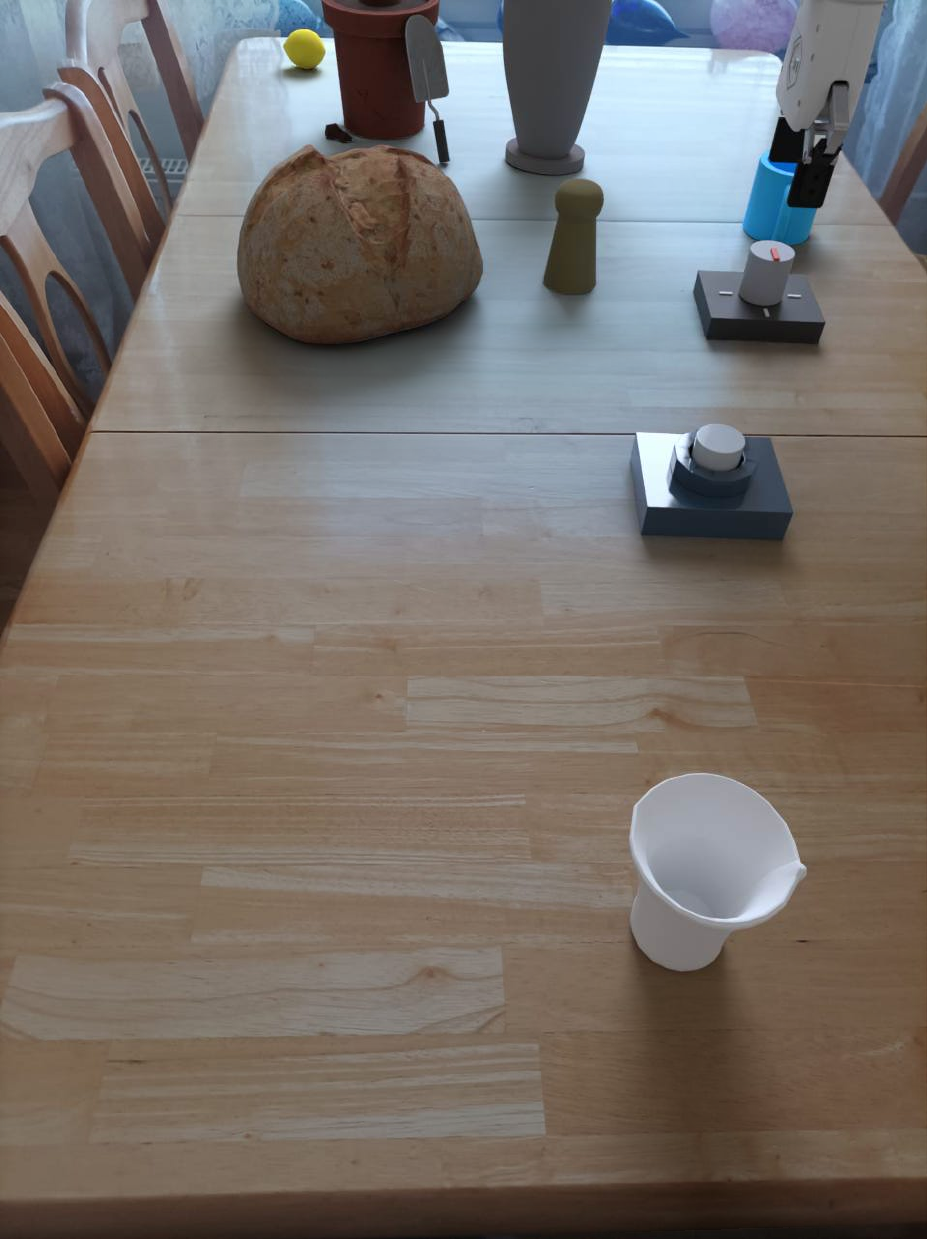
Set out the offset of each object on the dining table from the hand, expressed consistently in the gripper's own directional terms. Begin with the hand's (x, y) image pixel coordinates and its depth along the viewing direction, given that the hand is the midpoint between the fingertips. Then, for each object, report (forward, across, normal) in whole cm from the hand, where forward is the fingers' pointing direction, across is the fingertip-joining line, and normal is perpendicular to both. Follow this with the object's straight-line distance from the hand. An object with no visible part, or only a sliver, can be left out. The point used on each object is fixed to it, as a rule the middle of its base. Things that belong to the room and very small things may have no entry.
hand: (793, 183), depth 88 cm
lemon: (+16, -72, -60) cm, 95 cm away
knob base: (+16, -4, +1) cm, 16 cm away
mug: (+16, -23, +6) cm, 29 cm away
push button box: (+16, +28, -8) cm, 33 cm away
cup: (+16, +67, -15) cm, 70 cm away
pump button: (+11, +28, -8) cm, 31 cm away
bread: (+16, -4, -42) cm, 45 cm away
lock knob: (+13, -4, +1) cm, 14 cm away
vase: (+16, -41, -22) cm, 49 cm away
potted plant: (+16, -49, -44) cm, 68 cm away
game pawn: (+16, -9, -19) cm, 27 cm away
